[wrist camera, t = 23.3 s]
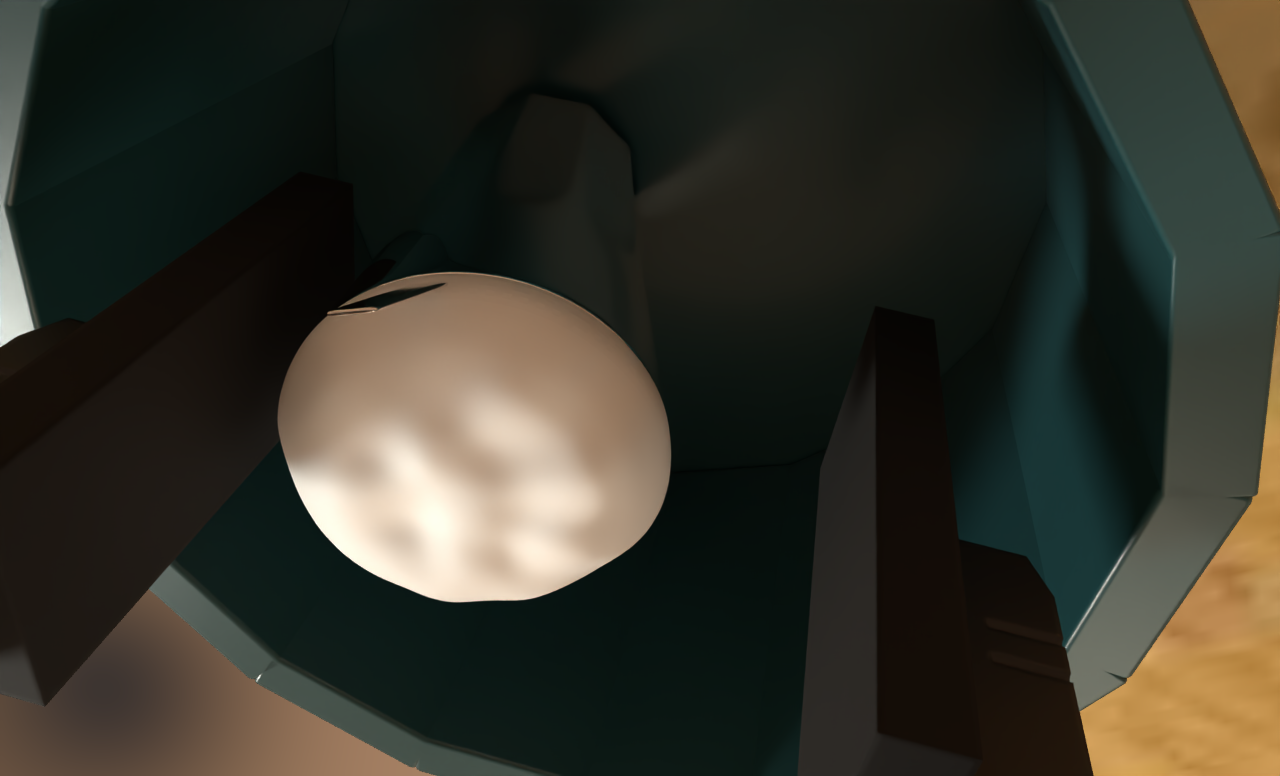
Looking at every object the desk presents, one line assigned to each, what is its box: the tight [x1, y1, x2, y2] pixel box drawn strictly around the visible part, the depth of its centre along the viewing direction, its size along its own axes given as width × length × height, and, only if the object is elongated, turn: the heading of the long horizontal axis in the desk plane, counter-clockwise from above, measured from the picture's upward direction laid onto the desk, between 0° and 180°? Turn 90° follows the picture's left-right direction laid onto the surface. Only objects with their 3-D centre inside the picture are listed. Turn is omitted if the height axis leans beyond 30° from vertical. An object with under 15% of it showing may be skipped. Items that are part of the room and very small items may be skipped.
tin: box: [0, 0, 1280, 776], centre depth 15 cm, size 15×15×8 cm
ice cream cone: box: [278, 93, 671, 602], centre depth 13 cm, size 4×5×10 cm
